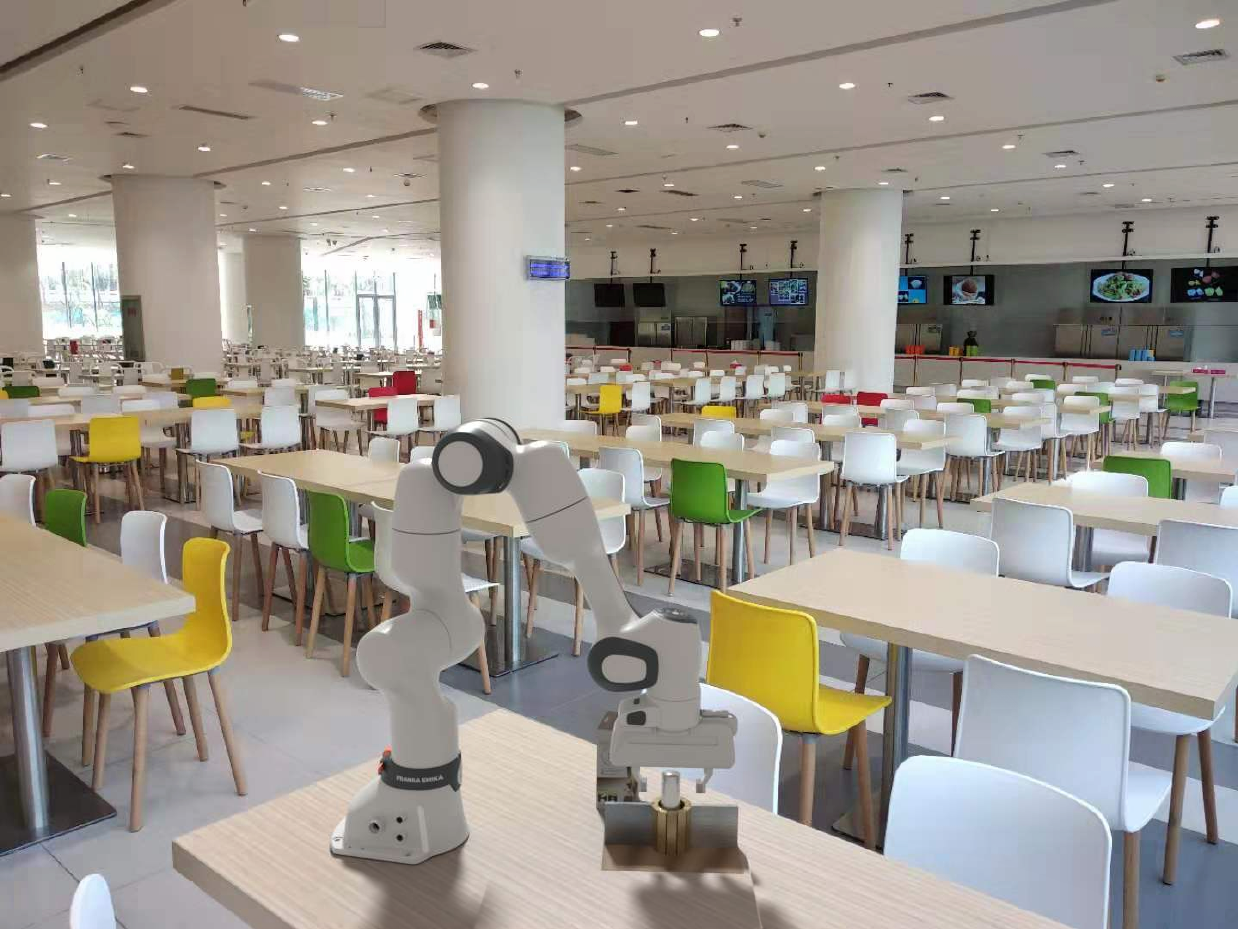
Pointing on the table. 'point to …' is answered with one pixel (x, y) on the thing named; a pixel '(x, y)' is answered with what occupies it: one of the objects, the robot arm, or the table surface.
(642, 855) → the walnut base
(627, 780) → the coffee box
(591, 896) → the table surface
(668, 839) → the hinge
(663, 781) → the hinge pin
